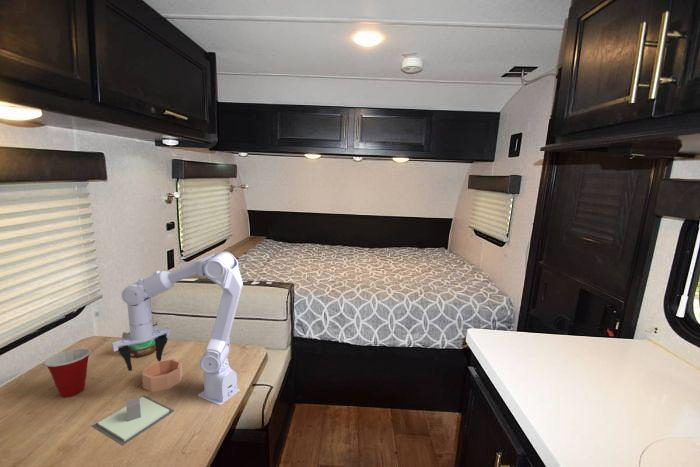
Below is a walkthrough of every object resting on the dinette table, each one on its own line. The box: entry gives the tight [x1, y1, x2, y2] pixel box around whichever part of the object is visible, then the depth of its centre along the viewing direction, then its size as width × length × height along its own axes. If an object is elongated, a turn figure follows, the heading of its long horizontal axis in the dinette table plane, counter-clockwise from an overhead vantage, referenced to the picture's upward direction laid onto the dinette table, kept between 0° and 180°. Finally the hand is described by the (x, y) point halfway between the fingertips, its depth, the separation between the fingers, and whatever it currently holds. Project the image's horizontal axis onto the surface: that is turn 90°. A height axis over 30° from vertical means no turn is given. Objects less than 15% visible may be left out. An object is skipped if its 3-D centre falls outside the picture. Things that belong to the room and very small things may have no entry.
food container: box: [121, 321, 160, 359], centre depth 123 cm, size 12×6×10 cm, turn 143°
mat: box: [91, 395, 175, 446], centre depth 90 cm, size 14×14×1 cm
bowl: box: [141, 358, 184, 393], centre depth 106 cm, size 11×11×5 cm
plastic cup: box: [43, 347, 92, 398], centre depth 100 cm, size 11×11×12 cm
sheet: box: [98, 396, 169, 441], centre depth 90 cm, size 12×12×5 cm
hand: (144, 364), depth 99 cm, fingers open, 7 cm apart
